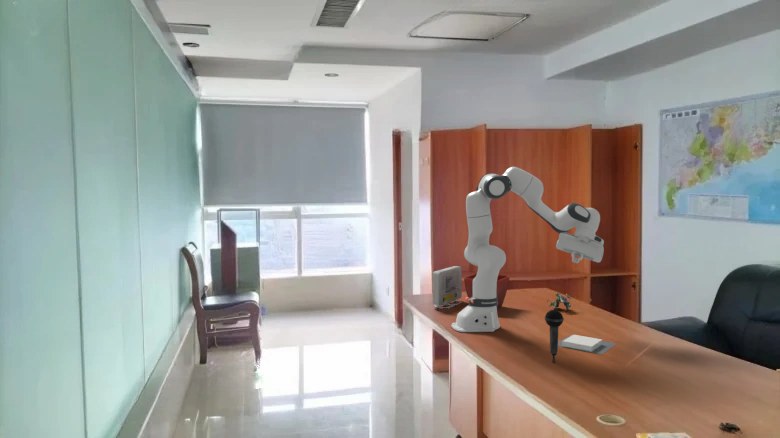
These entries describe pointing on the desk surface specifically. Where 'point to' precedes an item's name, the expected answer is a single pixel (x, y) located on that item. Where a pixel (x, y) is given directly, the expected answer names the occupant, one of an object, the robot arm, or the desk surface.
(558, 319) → the microphone
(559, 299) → the passion flower
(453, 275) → the network device
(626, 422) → the desk surface
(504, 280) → the plant pot
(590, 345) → the tile
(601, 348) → the mat
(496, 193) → the robot arm
